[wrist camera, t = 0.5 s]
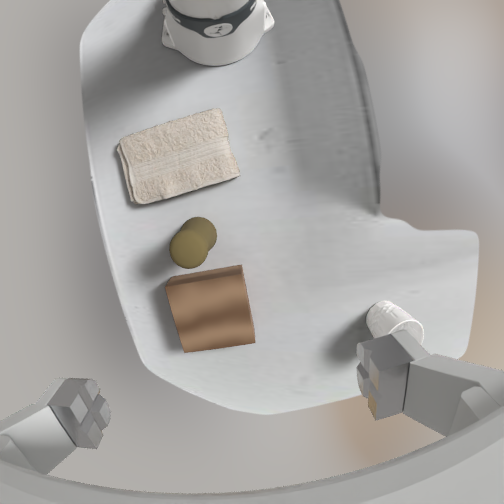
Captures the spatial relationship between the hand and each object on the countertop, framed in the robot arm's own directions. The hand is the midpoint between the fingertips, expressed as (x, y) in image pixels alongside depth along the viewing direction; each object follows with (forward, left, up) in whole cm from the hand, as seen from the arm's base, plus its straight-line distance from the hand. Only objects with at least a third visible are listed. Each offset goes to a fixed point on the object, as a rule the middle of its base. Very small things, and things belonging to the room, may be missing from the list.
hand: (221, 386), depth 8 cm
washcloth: (-11, -8, -42) cm, 44 cm away
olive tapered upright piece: (+2, -7, -42) cm, 43 cm away
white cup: (+23, +23, -42) cm, 53 cm away
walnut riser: (+14, -7, -42) cm, 45 cm away
